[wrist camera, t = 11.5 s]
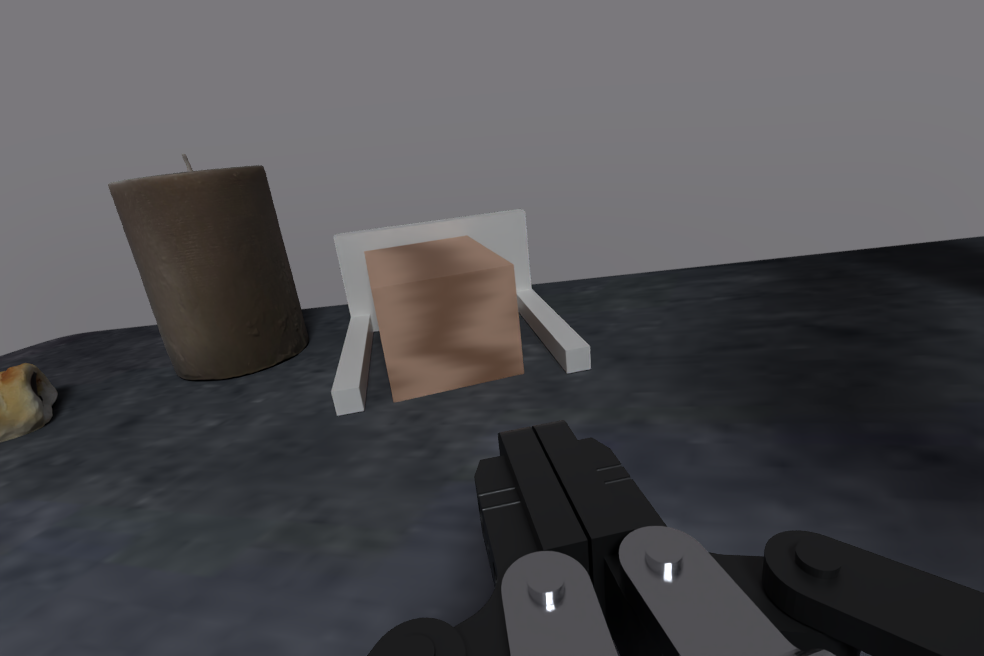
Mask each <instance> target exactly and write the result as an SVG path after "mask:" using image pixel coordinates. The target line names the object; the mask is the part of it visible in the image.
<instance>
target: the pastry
mask: <svg viewBox="0 0 984 656" xmlns="http://www.w3.org/2000/svg"><path fill="white" fill-rule="evenodd" d="M57 396H58V393H57V391H56V389H55V387H54V386H52V385H51V383H50V382H49V380H48V379H47V378H46V376H45V375H44V374H43V373H42V372H41V371H40V370H39V369H38V368H37V367H36V366H34V365H32V364H27V363H25V364H21V365H19V366H15V367H10V368H8V369H7V371H4V372H0V442H3V441H7V440H10V439H13V438H16V437H19V436H22V435H25V434H28V433H31V432H33V431H36V430H38V429H40V428H42V427H43V426H44V424H46V423H47V422H49V421H50V419H51V418H52V416H53V414H52V407H51V406H52V405H53V403H54V402H55V400H56V398H57Z"/></svg>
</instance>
